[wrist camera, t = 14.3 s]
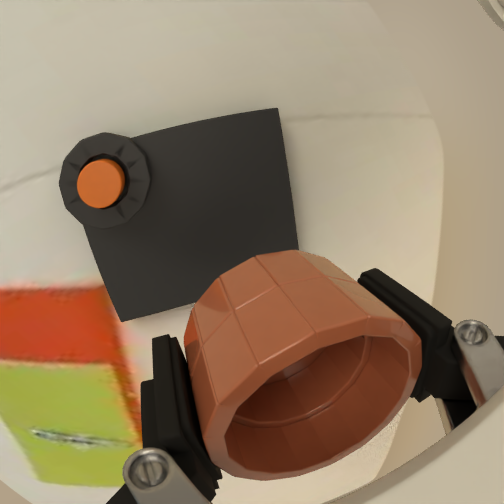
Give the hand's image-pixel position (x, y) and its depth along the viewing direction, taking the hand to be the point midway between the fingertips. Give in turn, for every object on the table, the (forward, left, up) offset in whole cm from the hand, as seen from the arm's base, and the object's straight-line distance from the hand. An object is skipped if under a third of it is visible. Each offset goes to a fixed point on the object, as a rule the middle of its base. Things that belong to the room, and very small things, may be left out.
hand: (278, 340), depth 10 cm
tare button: (-2, -8, -10) cm, 13 cm away
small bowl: (0, 0, -1) cm, 1 cm away
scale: (-1, -2, -13) cm, 13 cm away
